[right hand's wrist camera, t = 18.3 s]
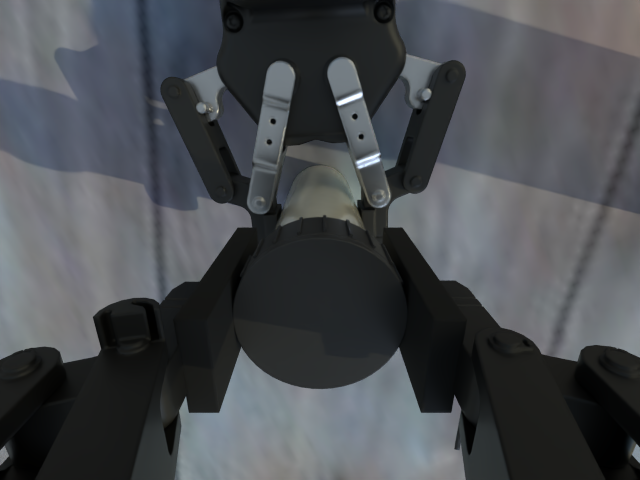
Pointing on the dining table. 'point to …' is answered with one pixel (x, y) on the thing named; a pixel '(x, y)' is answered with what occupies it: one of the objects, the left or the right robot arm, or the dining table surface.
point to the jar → (320, 197)
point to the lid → (320, 304)
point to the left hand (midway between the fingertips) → (323, 268)
